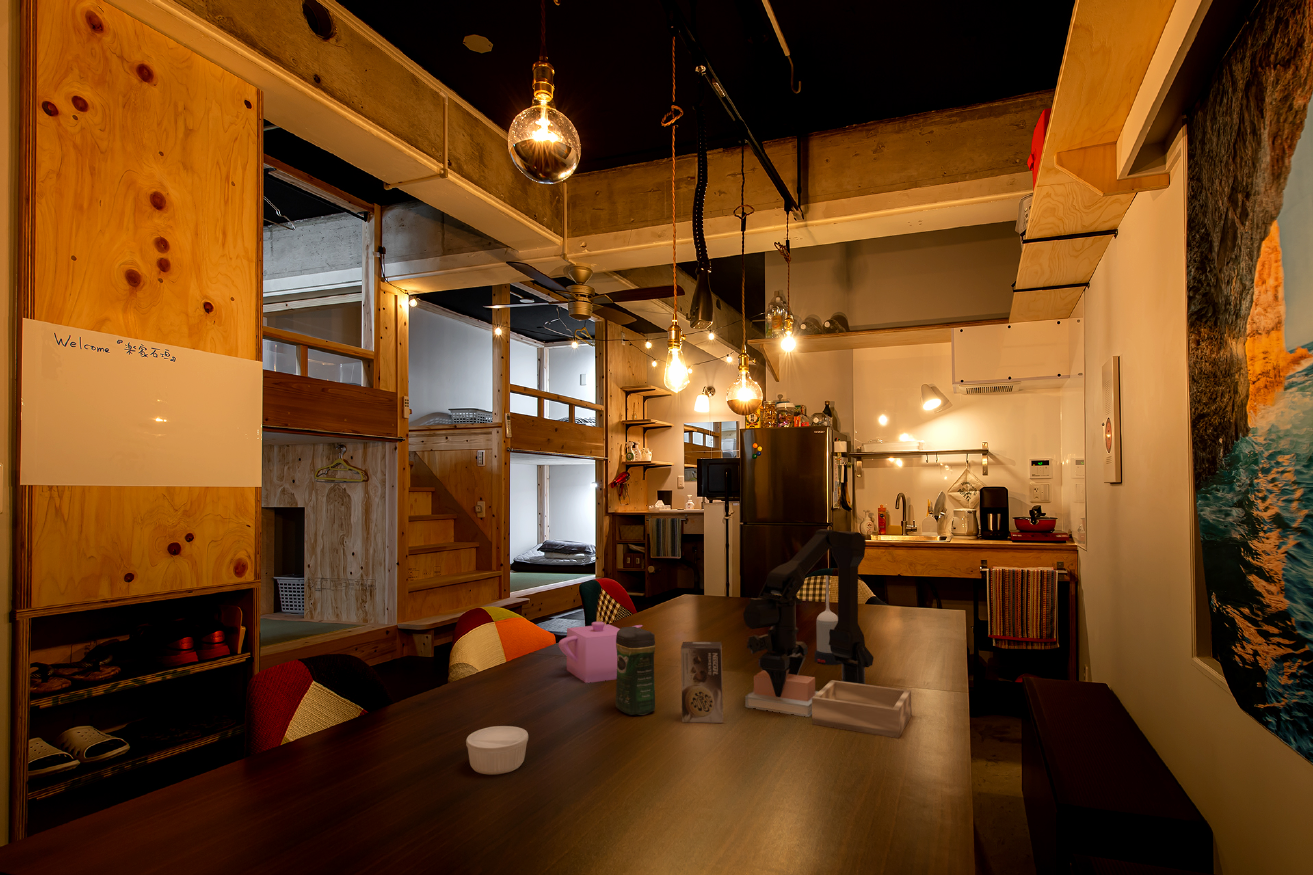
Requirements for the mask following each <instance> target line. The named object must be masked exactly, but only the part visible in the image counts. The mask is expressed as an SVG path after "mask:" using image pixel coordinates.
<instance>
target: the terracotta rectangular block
mask: <svg viewBox="0 0 1313 875" xmlns="http://www.w3.org/2000/svg"><path fill="white" fill-rule="evenodd" d="M753 691H754V694H760V695H767V696H774V697H776V695H775V692H774V689H773V685H772V682H771V679H770V676H769V674H768V673H767V672H766V671H765V670H761V671H760V672H758V673H756V674H755V675H753ZM815 691H816V677H815V676H806V675H799V674H798V675H793V674H788V676H787V679H786V682H785V685H784V688H783V691H782V694H781V698H788V699H794V700H801V701H809V700H810V699H811V698H812V697H813V696H815Z"/></svg>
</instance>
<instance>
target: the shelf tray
mask: <svg viewBox="0 0 1313 875" xmlns="http://www.w3.org/2000/svg"><path fill="white" fill-rule="evenodd" d="M865 684H866V683H865ZM865 684H857V683H850V682H842V680H840V681H839V680H834V679H832V680H830V681H829V682H828V683H827V684H826V685H825V686H823V688H821V689H820V690H819V691H818V693H817V694H816V695H815V696H814V697H813V698H812V714H811V716H812V717H811V719H812V723H811V724H812V725H813V726H814V725H815V726H822V727H827V728H833V727H834V729H839V730H840V729H841V730H845V729H846V731H853V732H859V733H863V734H872V735H876V736H882V737H889V738H894V739H895V738H896V739H899V738H900V737H901V735H902V734H903V732H904V730H905V728H906V726H907V725H908V724H909V723H908V722H909V721H910V720H911V717H912V715H913V713H912V690H910V689H902V688H894V687H886V686H879V685H873V684H872V685H871V684H868V685H865Z"/></svg>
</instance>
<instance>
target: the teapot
mask: <svg viewBox="0 0 1313 875" xmlns="http://www.w3.org/2000/svg"><path fill="white" fill-rule="evenodd" d="M633 626H635V627H637V628H640V629H641V627H643V626H644V625H642V624H638V625H633ZM633 626H631V627H633ZM620 629H621V628H618V627H616V626H614V625H611V624H606V623H605V622H603V621H593V622H591V625H586V626H575V627H567V629H566V637H564V638H562V639H560V640H559V642H558V648H559V649H560V651H561V652H562V653H563V654H564V655H565V656H566V671H567V672H568V673H570V674H572V675H573V676H574V677H576V678H577V679H579V680H581V681H582V682H583V683H585V684H589V683H590V682H591V683H596V682H597V683H598V682H604V681H605V680H606V681H611V680H612V681H613V680H617V649H616V636H617V632H618V631H619V630H620ZM591 683H590V684H591Z"/></svg>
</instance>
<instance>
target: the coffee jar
mask: <svg viewBox="0 0 1313 875" xmlns="http://www.w3.org/2000/svg"><path fill="white" fill-rule="evenodd" d="M635 626H636V625H633V627H632V626H625V627H624V626H623V627H620V628H619V629H620V630H619V631H618V632H617V636H616V649H617V679H616V683H615V684H616V685H615V686H616V687H615V707H616V708H617V710H620V712H623V713H625V714H626V715H627V714H628V715H631V716H632V715H639V716H644V715H648V714H649V713H652V712H654V711H655V709H656V689H655V687H656V686H655V651H656V639H655V633H653V632H651V630H650V631H649V630H645V629H643V628H641V627H640V628H637V627H635Z"/></svg>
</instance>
